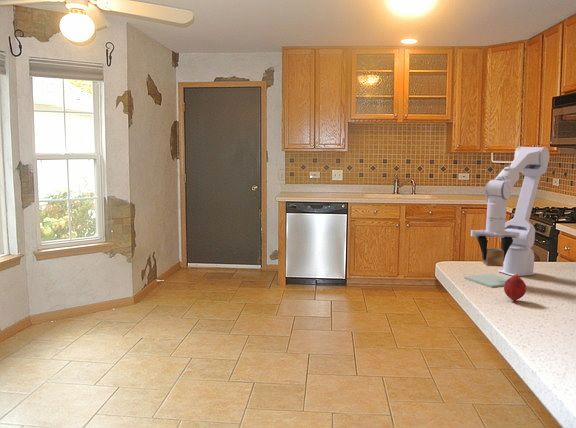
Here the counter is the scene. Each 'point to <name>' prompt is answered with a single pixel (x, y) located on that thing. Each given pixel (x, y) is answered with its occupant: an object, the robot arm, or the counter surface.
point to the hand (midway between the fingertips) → (493, 259)
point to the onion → (515, 287)
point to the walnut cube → (494, 257)
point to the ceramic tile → (488, 280)
